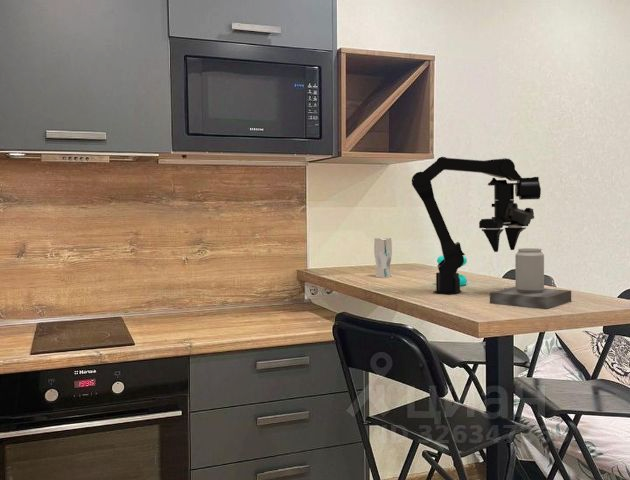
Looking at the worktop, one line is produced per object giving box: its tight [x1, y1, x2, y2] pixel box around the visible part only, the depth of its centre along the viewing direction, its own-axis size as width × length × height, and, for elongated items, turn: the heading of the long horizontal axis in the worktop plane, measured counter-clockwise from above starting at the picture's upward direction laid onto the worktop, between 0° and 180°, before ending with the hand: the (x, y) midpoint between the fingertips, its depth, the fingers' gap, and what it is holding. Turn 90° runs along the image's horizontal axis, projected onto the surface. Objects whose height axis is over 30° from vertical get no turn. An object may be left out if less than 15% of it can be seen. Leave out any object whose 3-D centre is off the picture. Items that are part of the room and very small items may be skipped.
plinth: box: [489, 285, 572, 310], centre depth 165 cm, size 16×16×3 cm
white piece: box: [373, 237, 393, 279], centre depth 232 cm, size 7×7×15 cm
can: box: [514, 247, 545, 293], centre depth 165 cm, size 8×8×12 cm
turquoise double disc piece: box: [436, 255, 468, 287], centre depth 204 cm, size 10×10×10 cm
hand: (504, 250), depth 183 cm, fingers open, 9 cm apart
